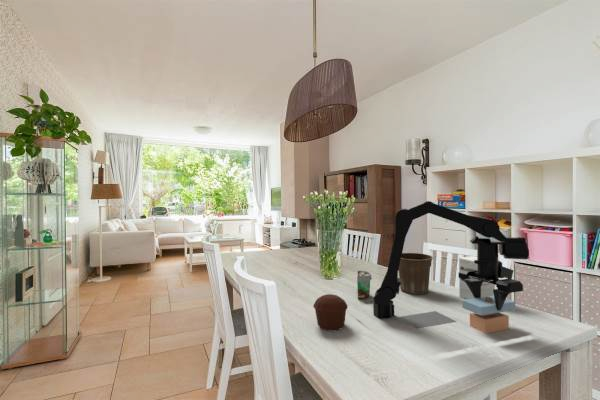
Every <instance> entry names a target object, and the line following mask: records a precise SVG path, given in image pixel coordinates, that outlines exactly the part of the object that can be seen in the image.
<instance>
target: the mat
mask: <svg viewBox="0 0 600 400" xmlns="http://www.w3.org/2000/svg"><path fill="white" fill-rule="evenodd" d="M398 318H399V319H400V320H402V321H403V322H405V323H406V324H407V323H408V324H409V325H411V326H412V327H414V328H415V329H423V328H428V327H434V326H440V325H445V324H451V323H452V324H453V323H457V320H455V319H453V318H450V317H449V316H446V315H444V314H442V313H440V312H437V311H436V310H435V311H434V310H433V311H428V312H422V313H415V314H408V315H402V316H398Z"/></svg>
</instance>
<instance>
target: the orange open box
mask: <svg viewBox="0 0 600 400" xmlns="http://www.w3.org/2000/svg"><path fill="white" fill-rule="evenodd" d="M509 318H510V317H509V315H507V314H506V313H503V312H500V313H494V314H488V315H482V316H481V315H478V314H476V313H474V312H471V313H469V326H470V327H471V328H473V329H475V330H478V331H480V332H482V333H483V334H488V333H493V332H497V331H503V330H508V329H510V323H509V322H510V321H509Z"/></svg>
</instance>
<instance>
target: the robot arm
mask: <svg viewBox="0 0 600 400" xmlns="http://www.w3.org/2000/svg"><path fill="white" fill-rule="evenodd" d="M428 214H431V215H433V216H437V217H440V218H442V219H445V220H448V221H450V222H454V223H456V224H459V225H462V226H464V227H466V228H468V229H471V230H472V231H474V232H475V233H477V234H479V235H481V236H483V238H482V237H481V238H480V237H479V236H478V235H474V237H473V238H471V239H470V240H469V242H470V243H471V244H475V245H476V248H477V249H476V252H477V253H476V257H477V260H474V263H476V264H477V266H478V270H474V269H462V270H460V271H459V270H458V279H459V278H461V279H464V282H466V284H467V286H468V287H469V289H470V290H471V292H472V294H473V296H474V298H480V297H481V285H482V283H483V281H484V282H488V283H491V284H494V286H496V287H495V288H494V289H493V293H494V298H495V304H496V308H497V310H498V311H500V310H501V309H502V306H503V304H504V302H505V300H506V299H508V296H509V295H510V294H511V293H512V294H513V293H518V292H519V293H520V292H524V284H523V283H522V282H521V280H516V279H513V276H514V275H513V274H514V271H515V270H513V269H511V268H509V267H505V266H503V262H502V261H499V255H500V256H502V257H503V259H509V260H527V259H529V256H530V254H529V253H530V250H529V247H528V244H527V242H526V237H523V236H516V237H506V236H505V235H504V233H503V232H502V231H501V229H500V224H499V223H498V221H497V220H496V221H495V220H494V219H490V218H487V217H481V216H476V215H470V214H466V213H463V212H460V211H457V210H454V209H452V208H448V207H445V206H443V205H440V204H437V203H434V202H432V201H429V200H428V201H425V202H423V203H421V204H418V205H416V206H413V207H411V208H401V209H399V210H398V211H397V212H396V214H395V217H394V219H395V220H394V221H395V223H394V231H395V232H394V237H393V243H392V248H391V251H390V258H389V261H388V267H387V270H386V271H385V272H386V273H385V275H384V277H383V280H382V281H381V284H380V287H379V288H378V289H377V290H376V291H375V294H374V295H373V300H372V301H373V302H372V305H373V306H372V309H373V316H374V317H375V318H377V319H385V320H386V319H391V318H392V317H394V316H395V305H394V301H393V300H394V299H395V298H396V296H397V295H399V293H400V290H401V289H400V284H401V278H399V270H398V269H399V265H400V260H401V255H402V253H403V250H404V245H405V241H406V237H407V234H408V232H409V231H410V228H411V225H412V223H413V220H416V219H418V218H420V217H422V216H425V215H428ZM490 238H492V239H495V240H496V241H494V240H492V239H490ZM491 280H493V281H491Z"/></svg>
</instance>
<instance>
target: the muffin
mask: <svg viewBox="0 0 600 400" xmlns="http://www.w3.org/2000/svg"><path fill="white" fill-rule="evenodd" d="M313 308H314V311H315V316H316V322H317V326H318V325H319V326H320V327H319V326H318V327H319V328H320V329H321V328H322V330H325V331H334V330H336V331H339V330H341V328H342V327H344V326H345V322H346V314H347V309H348V304H347V303H346V301H345V299H343V298H342V297H340V296H339V295H337V294H332V293H330V294H328V293H327V294H323V295H321V296H319V297H317V298H316V300H315V301H314V303H313ZM342 329H343V328H342Z"/></svg>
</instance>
